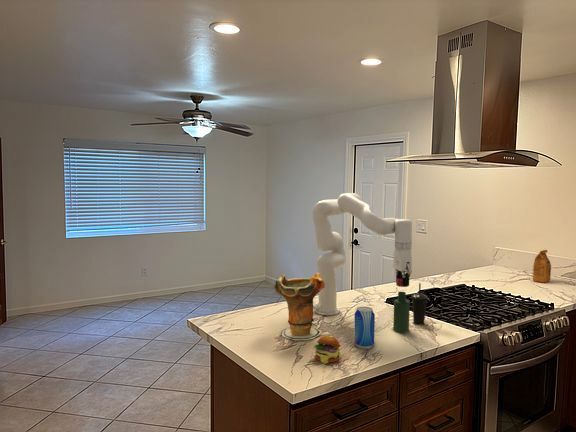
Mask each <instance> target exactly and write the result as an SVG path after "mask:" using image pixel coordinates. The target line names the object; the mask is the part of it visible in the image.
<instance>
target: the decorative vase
mask: <svg viewBox="0 0 576 432" xmlns="http://www.w3.org/2000/svg"><path fill="white" fill-rule="evenodd" d="M324 286H325V284H324V281H323V280H322V279H321V278H320V274H319V273H318V272H315V274H313V276H311V277H296V278H295V277H293V278H288V279H287V278H286V274H281V275H280V276H279V278H278V279H276V280H275V284H274V286H273V288H274V292H275V293H276V294H278V295H280V296H282V298H284V299H285V301H286V304H287V311H288V319H287V320H288V321H287V322H288V325H289V327H288V328H286V329H285V330H283V331H282V333H281V335H282V336H281V337H284V338H285V339H289V340H293V341H307V340H312V339H315V338H316V337H319V336H320V335H321V332H322V331H321V330H320V329H319V328H317V327H313V322H315V319H314V309H313V305H314V298H315V297H316V296H317V294H319V292H320V291H321V289H322V288H324ZM315 325H317V323H316V322H315Z"/></svg>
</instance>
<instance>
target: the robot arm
mask: <svg viewBox="0 0 576 432" xmlns="http://www.w3.org/2000/svg"><path fill="white" fill-rule="evenodd" d="M312 208H313V209H312V220H313V224H314V232H315V239H316V245H317V248H318V249H319V250H320V251H322V252H326V253H323V254H321V255H320V256H319V257H318V258H317V260H316V267H317V273H319V274H320V278H321V279H322V280H323V281H324V284H325V286H324V288H322V289H321V291H320V292H318V301H317V302H316V303H315V304H313V310H315V312H316V313H317V314H318V315H322V316H335V315H338V314H339V313H340V308H338V307H337V299H338V297H337V296H338V295H337V294H338V293H337V292H338V291H337V289H338V287H337V286H338V284H337V283H338V282H337V281H338V279H337V274H336V270H339V269H341V268H344V266H345V265H346V264H345V263H346V252H345V245H344V240H343V239H344V238H343V237H342V235H341V234H340V233H339V232H337V231H332V225H331V222H330V220H329V218H328V217H330V216H331V217H333V216H339V215H342V214H346V213H348V214H350V215H352V216H354V217H355V218H357V219H358V220H359V221H360V223H361V224H362V225H363V226H364V227H365V228H367V229H368V230H370V231H372V232H373V233H375V234H377V235H380V236H384V235H390V234H394V251H393V258H392V259H393V260H392V261H393V262H392V267H393V269H394V270H395V281H396V280H397V278H402V286H408V287H409V286H410V278H411V275H412V273H413V271H412V269H413V268H412V267H413V260H412V259H413V258H412V257H413V255H412V249H413V247H412V246H413V245H412V243H413V221H412V220H411V219H410V218H409V219H408V218H396V217H384V218H382V217H380V216H378V215H377V214H375V213H373V212H372V211H371V205H370V204H368V203H367V202H365V201H363V198H362V197H361V196H360V194H359V193H355V192H344V193H341V194H340V195H339V196H338V198H336V199H323V200H320V201H318V202H317V203H316V204H315V205H314V207H312ZM327 251H328V252H327Z"/></svg>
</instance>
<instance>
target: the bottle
mask: <svg viewBox="0 0 576 432" xmlns="http://www.w3.org/2000/svg"><path fill="white" fill-rule="evenodd" d="M410 304H411V301H410V300H409V299H407V293H406V291H398V292H397V298H395V299H393V327H392V328H393V329H392V331H394V332H395V333H400V334H405V333H409V332H410V308H411V307H410Z"/></svg>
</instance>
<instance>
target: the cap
mask: <svg viewBox="0 0 576 432" xmlns="http://www.w3.org/2000/svg"><path fill="white" fill-rule="evenodd" d="M395 285H396V286H397V287H400V288H407V287H409V286H402V278H397V280H396V279H395Z"/></svg>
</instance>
